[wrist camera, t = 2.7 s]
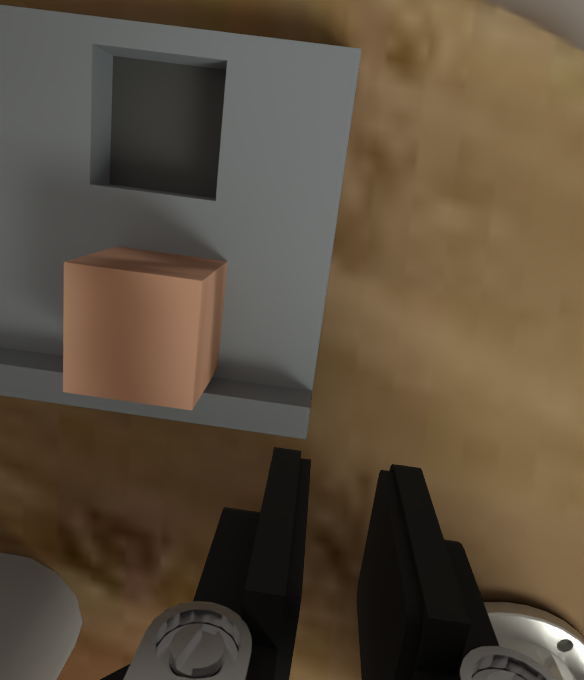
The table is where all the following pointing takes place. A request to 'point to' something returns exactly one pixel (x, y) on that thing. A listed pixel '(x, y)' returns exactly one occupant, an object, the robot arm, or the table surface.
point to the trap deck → (173, 193)
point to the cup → (35, 620)
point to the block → (142, 326)
